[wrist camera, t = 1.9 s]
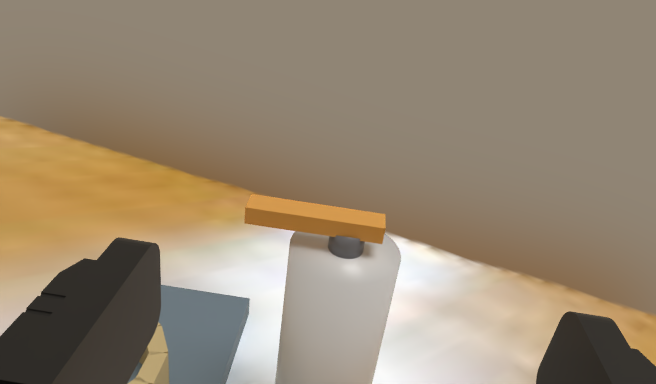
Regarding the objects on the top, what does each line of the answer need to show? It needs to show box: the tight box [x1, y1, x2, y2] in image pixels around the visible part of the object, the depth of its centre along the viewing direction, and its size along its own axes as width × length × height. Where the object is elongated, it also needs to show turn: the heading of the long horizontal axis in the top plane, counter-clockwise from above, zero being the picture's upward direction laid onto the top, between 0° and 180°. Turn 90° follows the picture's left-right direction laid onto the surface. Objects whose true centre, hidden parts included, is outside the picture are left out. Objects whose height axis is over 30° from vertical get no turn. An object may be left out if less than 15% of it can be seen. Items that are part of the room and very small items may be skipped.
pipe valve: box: [245, 194, 401, 384], centre depth 26 cm, size 7×5×16 cm
